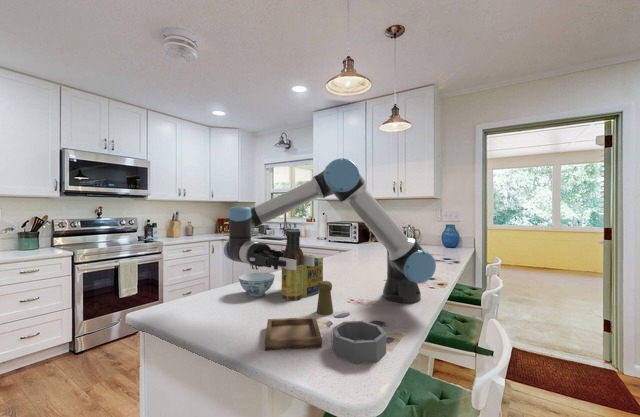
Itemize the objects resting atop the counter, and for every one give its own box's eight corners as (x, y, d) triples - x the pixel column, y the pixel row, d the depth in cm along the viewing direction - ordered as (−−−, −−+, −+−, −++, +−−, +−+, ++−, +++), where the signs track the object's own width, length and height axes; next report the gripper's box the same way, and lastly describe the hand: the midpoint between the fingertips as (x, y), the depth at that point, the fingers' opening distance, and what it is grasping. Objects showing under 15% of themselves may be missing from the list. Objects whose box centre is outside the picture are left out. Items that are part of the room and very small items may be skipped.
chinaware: (231, 296, 122) (231, 277, 122) (255, 287, 135) (255, 271, 135) (259, 301, 115) (259, 282, 115) (281, 291, 128) (281, 274, 128)
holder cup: (374, 337, 84) (375, 320, 84) (391, 361, 71) (391, 340, 71) (330, 339, 82) (330, 322, 82) (339, 364, 69) (339, 344, 69)
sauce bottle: (281, 295, 87) (282, 229, 87) (302, 295, 88) (303, 229, 88) (280, 302, 80) (281, 231, 80) (303, 302, 81) (304, 231, 81)
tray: (315, 324, 92) (315, 316, 92) (321, 347, 78) (321, 338, 78) (267, 327, 91) (267, 319, 91) (264, 350, 76) (264, 341, 76)
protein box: (306, 297, 120) (306, 260, 120) (282, 290, 131) (282, 255, 131) (323, 292, 128) (323, 256, 128) (299, 285, 139) (299, 253, 138)
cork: (331, 316, 100) (331, 284, 100) (314, 314, 101) (314, 283, 101) (334, 309, 106) (334, 279, 106) (318, 308, 107) (318, 279, 107)
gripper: (278, 261, 103) (327, 271, 88) (229, 269, 89) (277, 283, 73) (278, 240, 103) (327, 246, 87) (229, 245, 89) (277, 254, 73)
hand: (304, 263), depth 80 cm, fingers closed on sauce bottle, 6 cm apart
